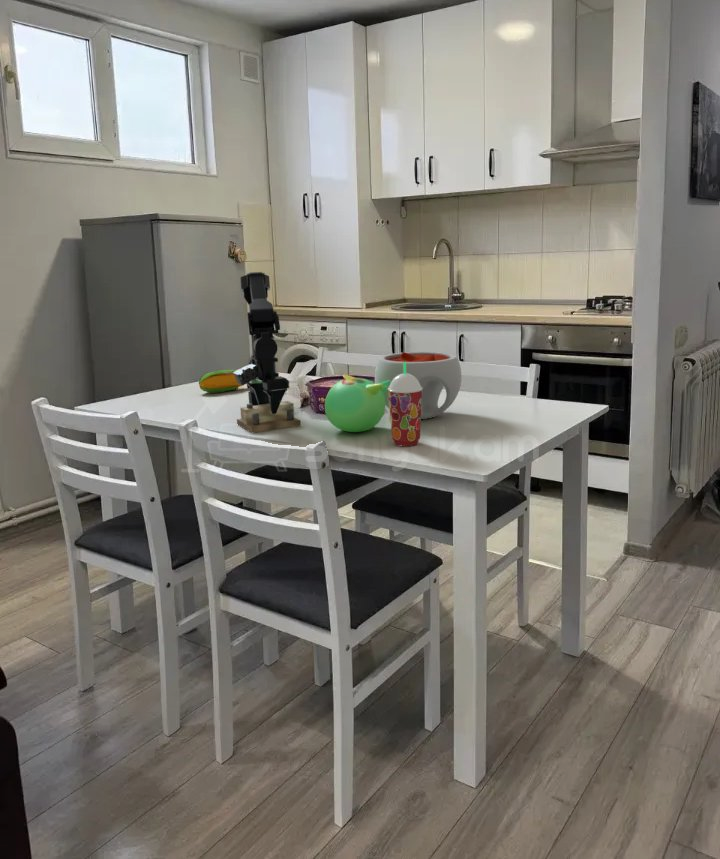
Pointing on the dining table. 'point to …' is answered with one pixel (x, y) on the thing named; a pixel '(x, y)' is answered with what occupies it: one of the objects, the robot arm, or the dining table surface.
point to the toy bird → (356, 404)
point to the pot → (424, 376)
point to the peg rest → (271, 423)
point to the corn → (219, 381)
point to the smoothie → (405, 408)
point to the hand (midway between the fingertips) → (267, 410)
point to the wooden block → (265, 412)
